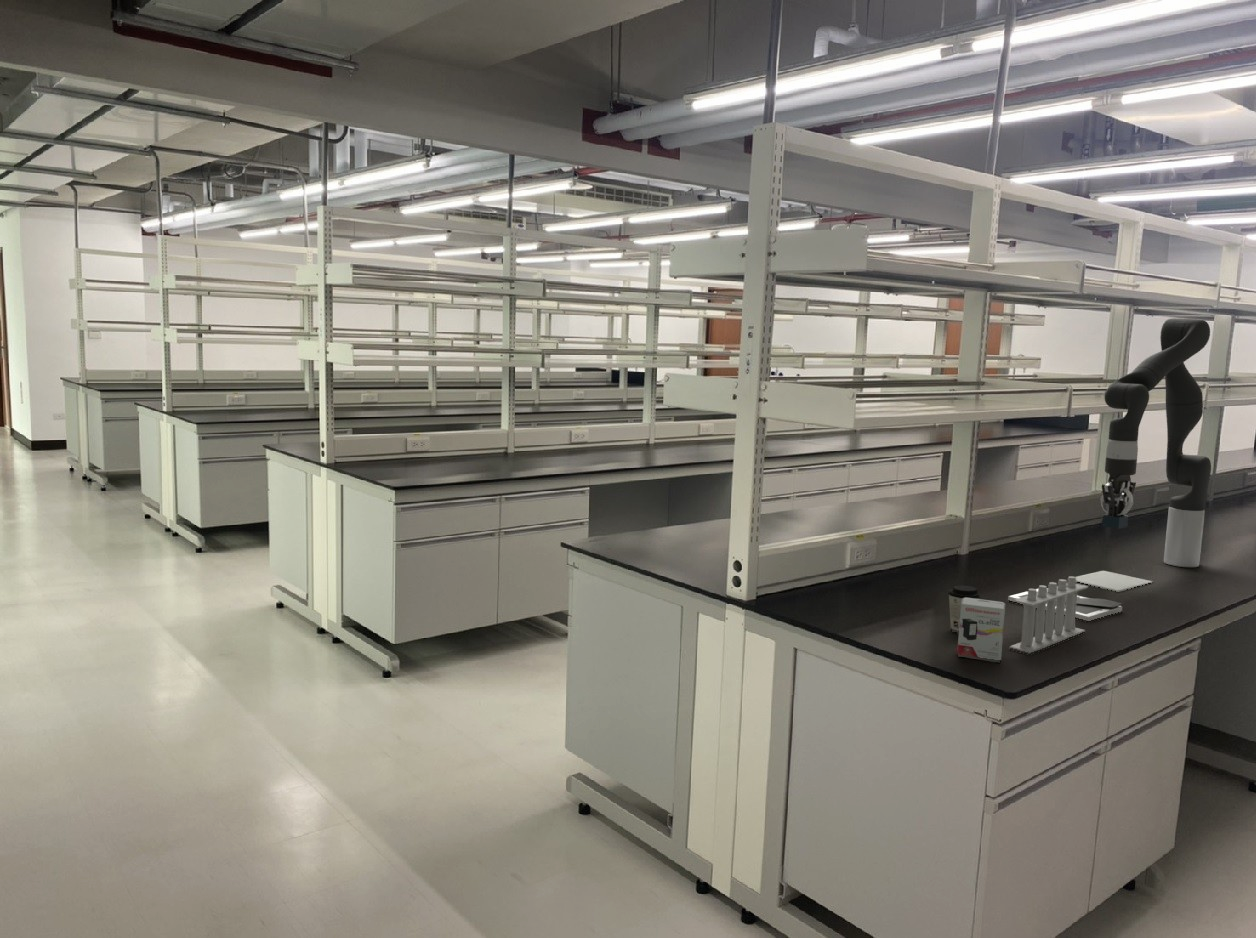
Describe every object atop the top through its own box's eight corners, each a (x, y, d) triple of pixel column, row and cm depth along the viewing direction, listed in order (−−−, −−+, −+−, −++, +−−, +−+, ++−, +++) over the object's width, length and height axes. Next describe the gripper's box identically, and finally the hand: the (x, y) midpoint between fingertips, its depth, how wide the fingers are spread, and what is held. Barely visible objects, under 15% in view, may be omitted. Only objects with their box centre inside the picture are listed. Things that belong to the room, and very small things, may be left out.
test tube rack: (1065, 628, 208) (1070, 572, 207) (1084, 633, 205) (1089, 576, 203) (1009, 649, 193) (1013, 589, 191) (1029, 655, 190) (1034, 594, 188)
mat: (1102, 572, 261) (1102, 570, 261) (1152, 583, 250) (1152, 581, 250) (1067, 580, 251) (1068, 578, 251) (1118, 592, 240) (1118, 590, 240)
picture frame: (1121, 614, 222) (1042, 594, 239) (1122, 603, 222) (1042, 584, 239) (1088, 625, 213) (1007, 604, 230) (1089, 613, 213) (1008, 593, 230)
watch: (1104, 523, 253) (1107, 484, 252) (1134, 527, 247) (1137, 488, 246) (1094, 525, 250) (1098, 485, 249) (1125, 529, 244) (1128, 489, 242)
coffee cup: (952, 635, 201) (955, 592, 200) (940, 626, 208) (943, 584, 207) (983, 635, 202) (986, 592, 200) (970, 626, 209) (972, 584, 207)
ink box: (956, 657, 187) (959, 602, 186) (957, 650, 192) (961, 596, 190) (1000, 664, 184) (1005, 608, 182) (1001, 656, 188) (1005, 602, 187)
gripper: (1121, 459, 239) (1116, 523, 241) (1148, 456, 247) (1143, 518, 249) (1093, 456, 245) (1088, 518, 247) (1121, 453, 253) (1115, 514, 255)
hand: (1116, 518), depth 248 cm, fingers closed on watch, 3 cm apart
